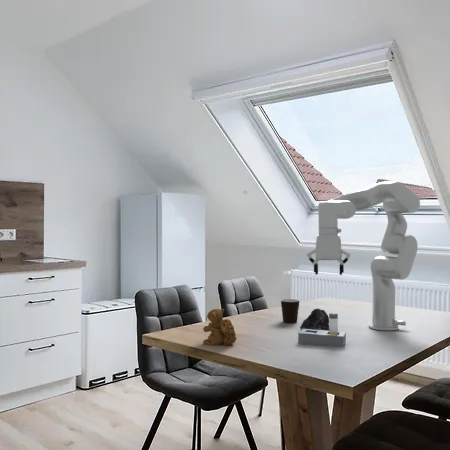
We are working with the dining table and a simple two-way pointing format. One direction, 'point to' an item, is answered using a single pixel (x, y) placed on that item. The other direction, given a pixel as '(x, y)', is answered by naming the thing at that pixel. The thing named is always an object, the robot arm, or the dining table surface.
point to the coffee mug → (290, 310)
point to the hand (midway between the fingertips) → (328, 274)
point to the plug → (333, 323)
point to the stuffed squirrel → (219, 329)
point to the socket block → (321, 338)
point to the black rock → (316, 321)
